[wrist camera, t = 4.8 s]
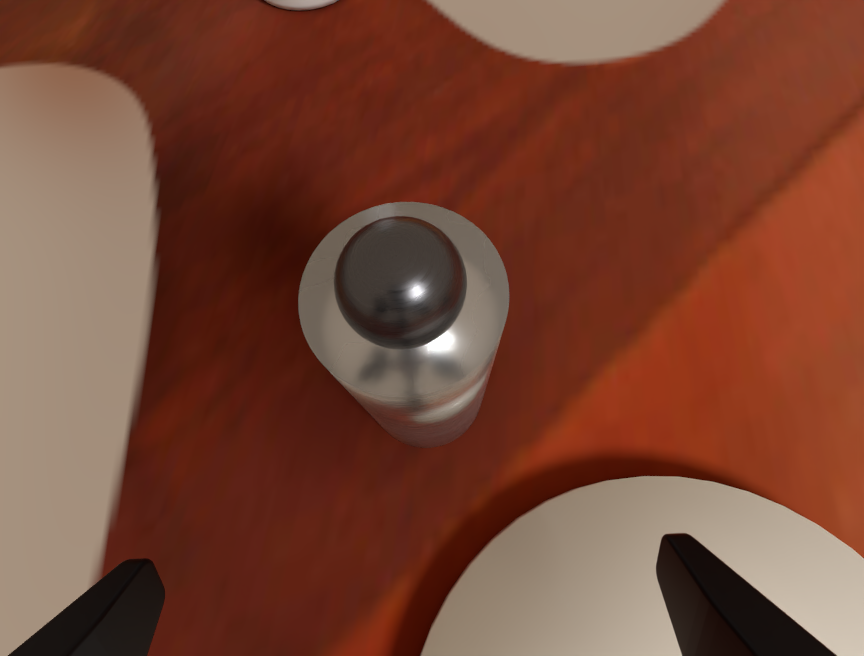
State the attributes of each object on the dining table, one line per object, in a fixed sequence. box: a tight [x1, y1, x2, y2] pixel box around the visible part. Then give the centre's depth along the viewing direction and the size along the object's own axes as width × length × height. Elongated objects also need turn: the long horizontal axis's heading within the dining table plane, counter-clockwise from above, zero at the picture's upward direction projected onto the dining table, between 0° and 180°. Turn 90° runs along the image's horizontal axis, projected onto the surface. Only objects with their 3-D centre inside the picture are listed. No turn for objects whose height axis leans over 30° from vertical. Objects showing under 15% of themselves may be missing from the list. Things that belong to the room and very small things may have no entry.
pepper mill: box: [298, 202, 509, 448], centre depth 16 cm, size 5×5×13 cm
